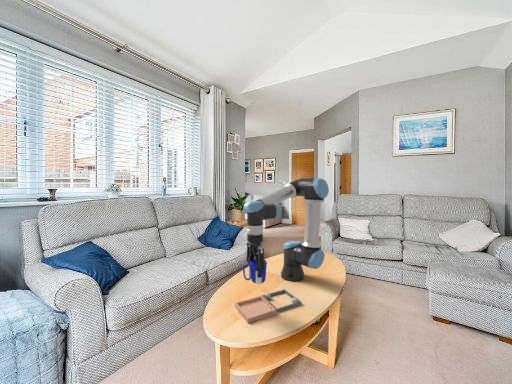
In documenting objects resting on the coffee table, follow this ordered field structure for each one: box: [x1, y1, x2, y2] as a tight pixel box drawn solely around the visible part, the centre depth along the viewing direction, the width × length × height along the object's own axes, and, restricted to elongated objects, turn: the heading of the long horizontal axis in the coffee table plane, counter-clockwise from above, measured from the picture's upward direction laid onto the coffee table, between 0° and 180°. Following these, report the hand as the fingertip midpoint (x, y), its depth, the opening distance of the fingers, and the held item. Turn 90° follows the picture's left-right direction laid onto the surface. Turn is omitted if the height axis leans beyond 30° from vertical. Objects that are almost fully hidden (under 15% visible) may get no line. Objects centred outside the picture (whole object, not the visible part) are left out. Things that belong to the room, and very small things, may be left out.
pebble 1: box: [264, 292, 272, 300], centre depth 123 cm, size 3×3×3 cm
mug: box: [242, 258, 268, 285], centre depth 112 cm, size 8×12×10 cm
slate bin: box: [261, 288, 302, 313], centre depth 121 cm, size 15×15×1 cm
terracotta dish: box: [234, 295, 277, 324], centre depth 112 cm, size 15×15×2 cm
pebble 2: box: [291, 297, 298, 304], centre depth 118 cm, size 3×3×3 cm
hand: (254, 280), depth 112 cm, fingers closed on mug, 7 cm apart
